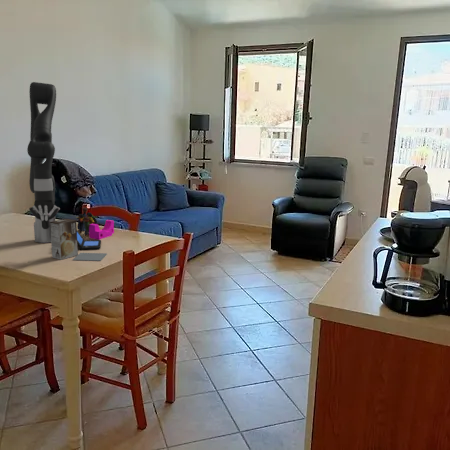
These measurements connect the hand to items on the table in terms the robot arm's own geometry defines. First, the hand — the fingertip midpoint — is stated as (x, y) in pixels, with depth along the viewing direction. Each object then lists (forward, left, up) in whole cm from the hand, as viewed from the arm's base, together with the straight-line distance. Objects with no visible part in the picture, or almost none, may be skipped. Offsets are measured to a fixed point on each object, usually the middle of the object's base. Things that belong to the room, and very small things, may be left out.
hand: (46, 228), depth 191 cm
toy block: (+15, +39, -13) cm, 44 cm away
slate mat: (+19, 0, -12) cm, 22 cm away
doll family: (+4, +44, -13) cm, 46 cm away
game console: (+11, +19, -13) cm, 26 cm away
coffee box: (+8, 0, -13) cm, 15 cm away
